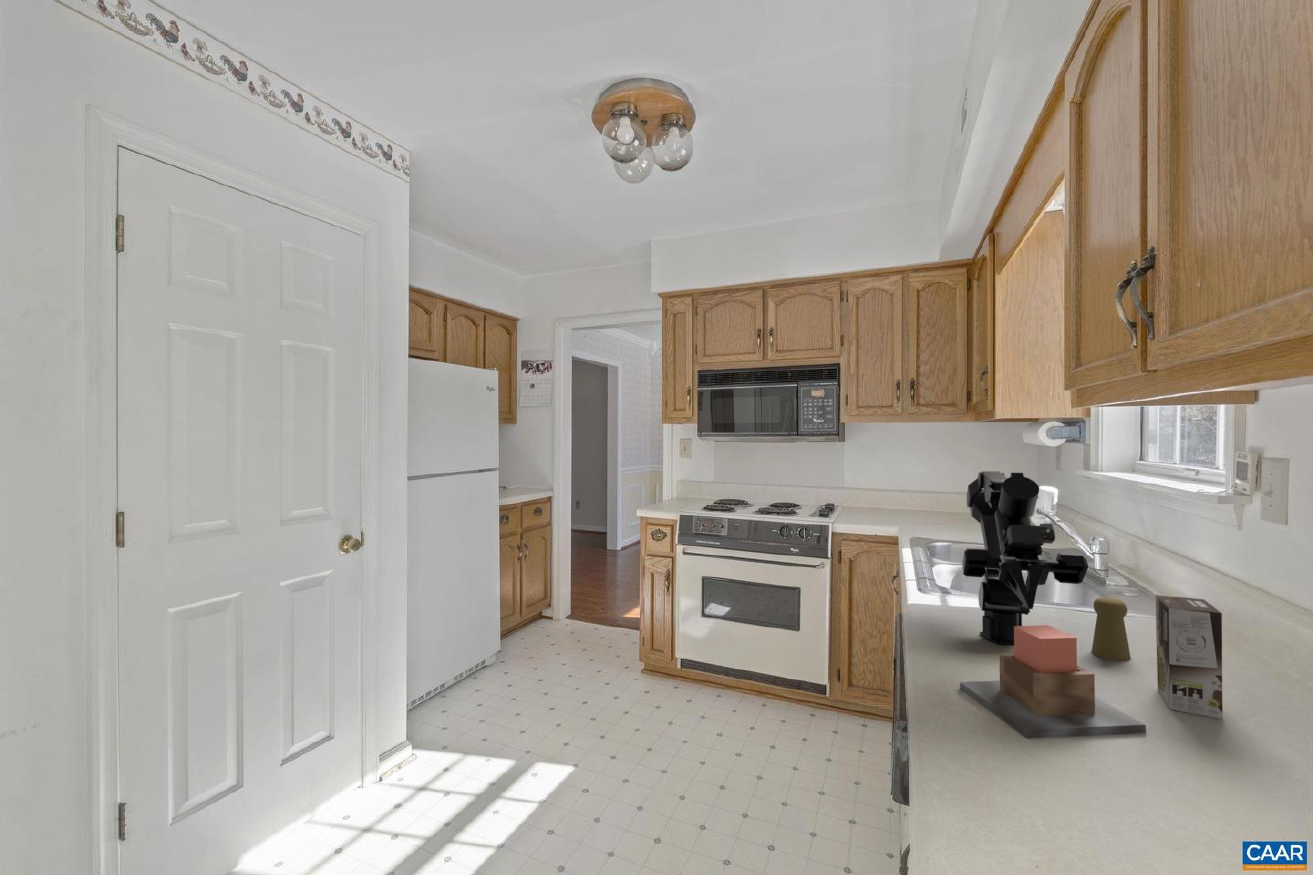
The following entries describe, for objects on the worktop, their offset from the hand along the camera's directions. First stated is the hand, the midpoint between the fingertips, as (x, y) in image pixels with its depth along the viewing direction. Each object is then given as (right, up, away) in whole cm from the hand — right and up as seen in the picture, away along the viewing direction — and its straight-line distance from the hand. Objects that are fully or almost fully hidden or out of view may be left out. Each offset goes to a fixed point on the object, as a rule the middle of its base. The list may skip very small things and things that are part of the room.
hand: (1030, 607), depth 98 cm
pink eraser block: (-3, -7, -8) cm, 11 cm away
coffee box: (+21, -14, -7) cm, 26 cm away
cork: (+25, -13, +14) cm, 31 cm away
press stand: (-3, -14, -8) cm, 16 cm away
